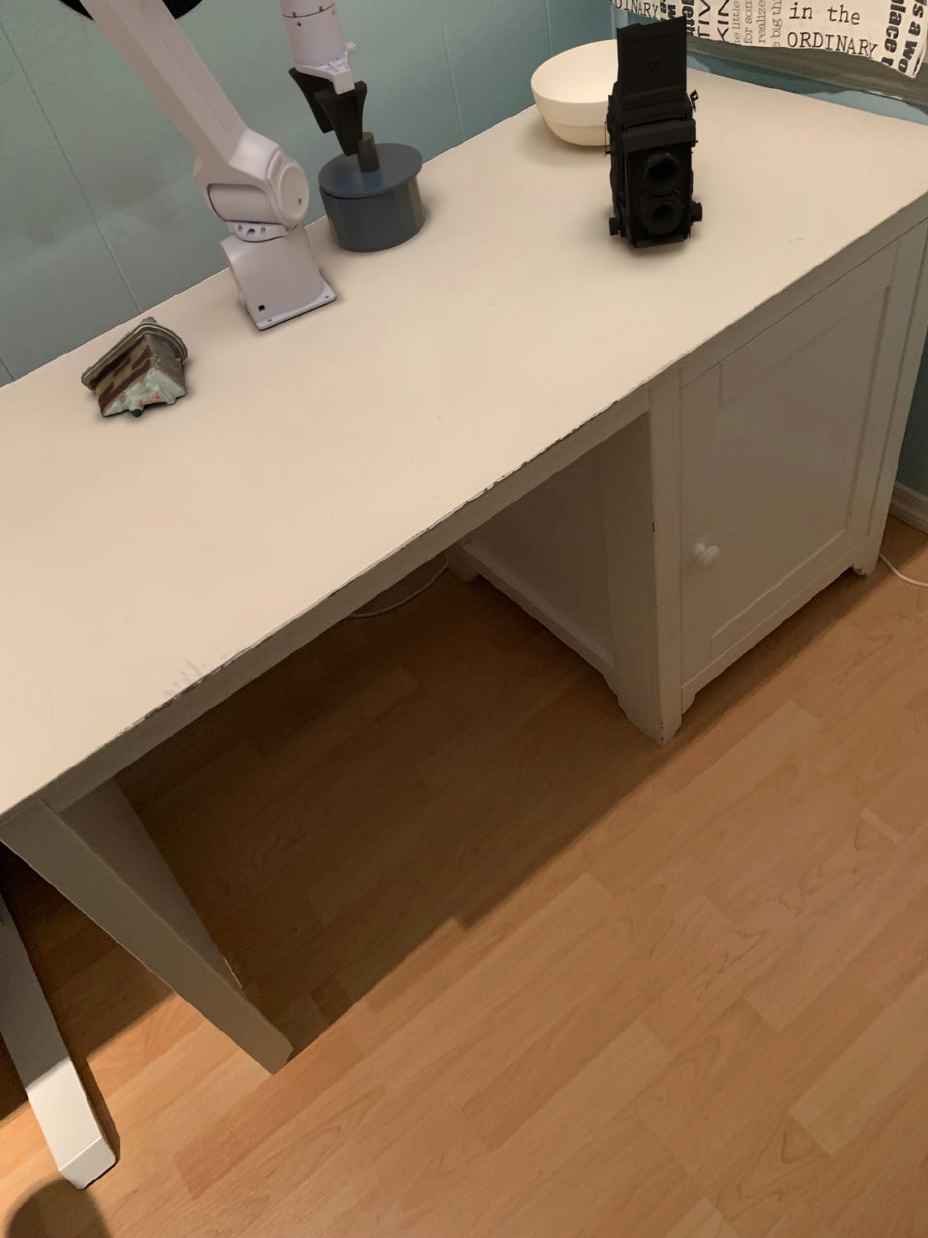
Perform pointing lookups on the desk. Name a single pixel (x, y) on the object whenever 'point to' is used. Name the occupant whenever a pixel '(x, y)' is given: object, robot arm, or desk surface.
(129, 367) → the chocolate cake
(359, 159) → the lid
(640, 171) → the camera
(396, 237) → the pot
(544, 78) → the bowl
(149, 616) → the desk surface
